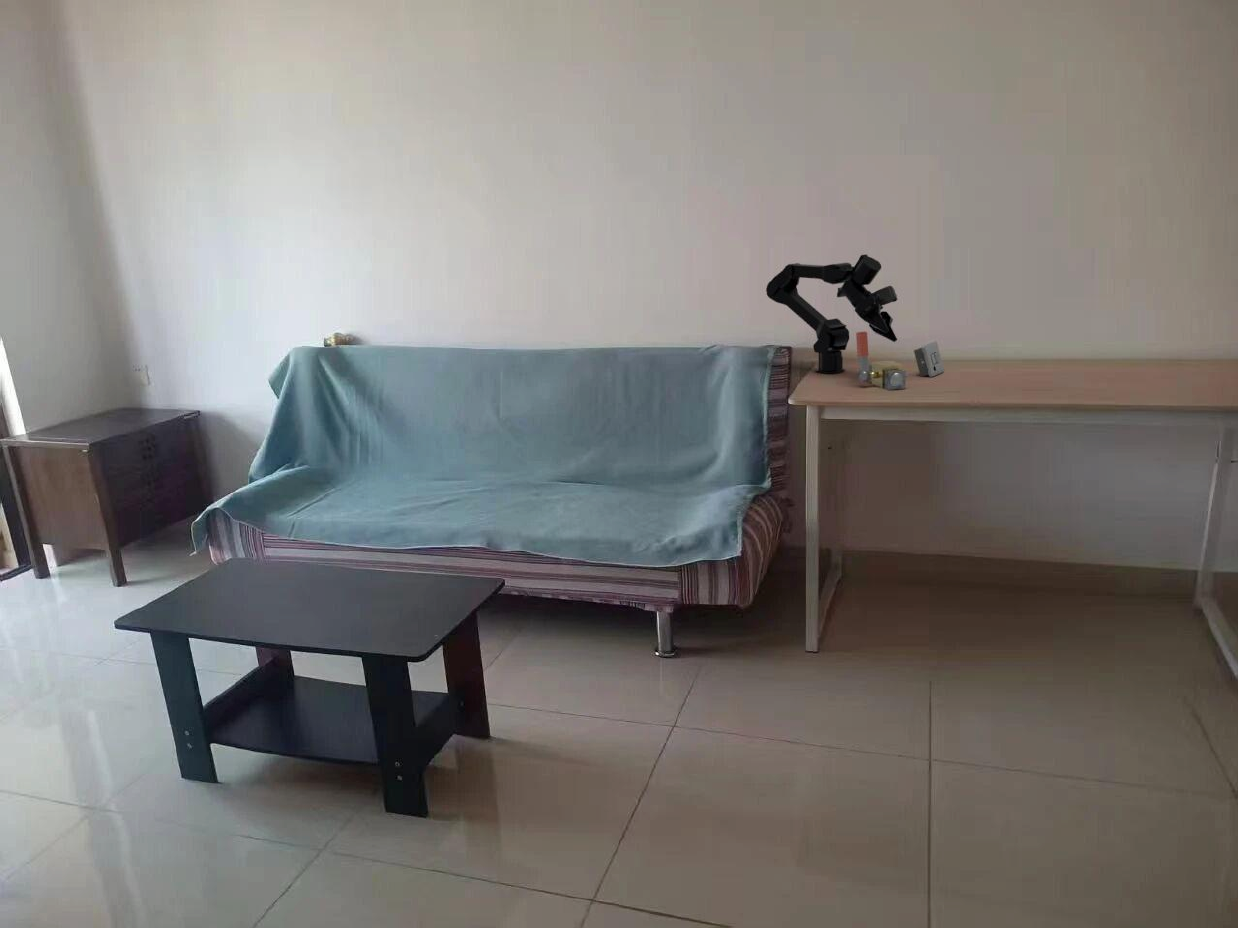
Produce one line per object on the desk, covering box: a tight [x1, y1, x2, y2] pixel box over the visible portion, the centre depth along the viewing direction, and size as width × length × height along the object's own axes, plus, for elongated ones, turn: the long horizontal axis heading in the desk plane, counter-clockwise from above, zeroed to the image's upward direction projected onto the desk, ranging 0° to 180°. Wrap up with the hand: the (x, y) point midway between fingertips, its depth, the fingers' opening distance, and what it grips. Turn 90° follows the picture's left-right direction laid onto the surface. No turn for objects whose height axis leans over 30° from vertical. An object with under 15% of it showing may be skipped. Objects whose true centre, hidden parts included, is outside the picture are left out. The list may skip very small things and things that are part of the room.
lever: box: [855, 331, 870, 383], centre depth 261 cm, size 3×2×14 cm
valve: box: [868, 360, 907, 391], centre depth 262 cm, size 15×8×6 cm, turn 8°
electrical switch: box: [913, 340, 945, 378], centre depth 273 cm, size 9×5×9 cm, turn 141°
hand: (891, 336), depth 266 cm, fingers open, 9 cm apart
